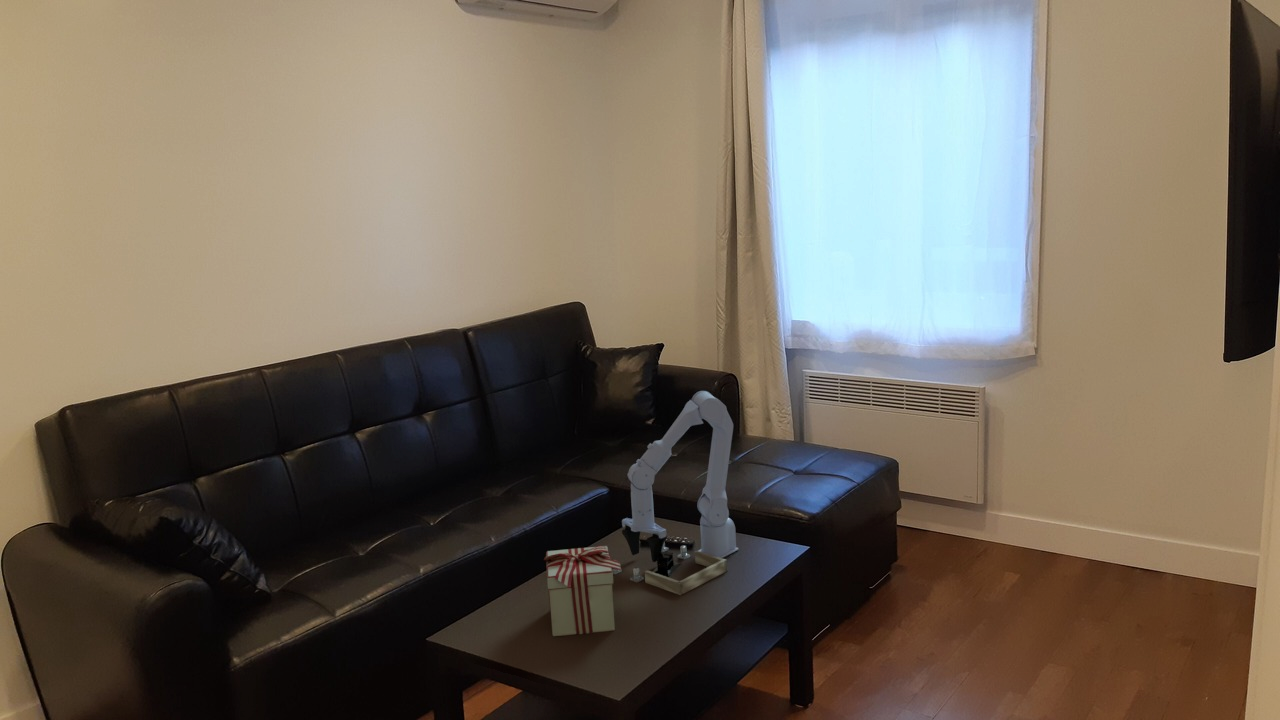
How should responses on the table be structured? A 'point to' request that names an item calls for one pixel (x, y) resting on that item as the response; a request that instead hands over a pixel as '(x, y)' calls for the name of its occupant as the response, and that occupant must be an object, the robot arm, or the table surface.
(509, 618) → the table surface
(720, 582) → the table surface
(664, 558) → the black boxy piece
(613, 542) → the table surface
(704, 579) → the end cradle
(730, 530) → the robot arm
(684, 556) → the guide pins
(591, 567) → the gift box
